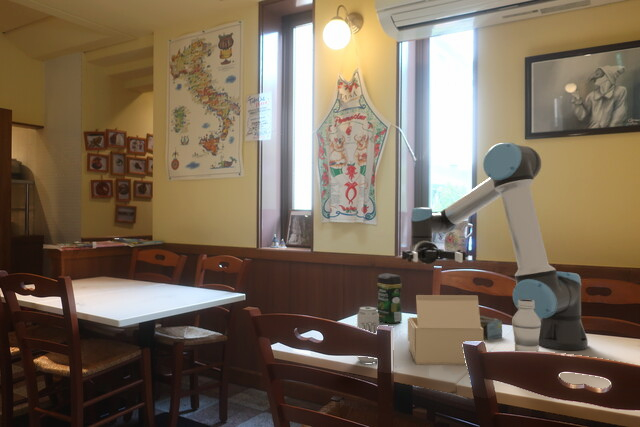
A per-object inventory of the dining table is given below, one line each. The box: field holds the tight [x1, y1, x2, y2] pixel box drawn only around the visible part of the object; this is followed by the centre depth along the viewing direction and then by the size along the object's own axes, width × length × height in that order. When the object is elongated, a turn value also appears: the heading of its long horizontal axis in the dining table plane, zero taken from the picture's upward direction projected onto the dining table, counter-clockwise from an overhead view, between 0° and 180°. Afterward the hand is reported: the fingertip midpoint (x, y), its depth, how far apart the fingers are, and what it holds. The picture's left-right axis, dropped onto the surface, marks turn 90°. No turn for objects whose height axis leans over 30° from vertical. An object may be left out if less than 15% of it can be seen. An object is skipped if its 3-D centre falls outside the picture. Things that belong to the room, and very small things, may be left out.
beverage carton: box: [480, 315, 503, 341], centre depth 168 cm, size 8×19×7 cm, turn 32°
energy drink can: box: [356, 306, 380, 364], centre depth 134 cm, size 6×6×15 cm
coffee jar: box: [376, 272, 403, 324], centre depth 187 cm, size 10×8×19 cm
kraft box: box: [407, 317, 484, 366], centre depth 138 cm, size 19×14×10 cm
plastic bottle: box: [511, 299, 541, 353], centre depth 118 cm, size 6×7×20 cm
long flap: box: [415, 294, 481, 329], centre depth 133 cm, size 17×9×1 cm
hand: (438, 257), depth 146 cm, fingers open, 13 cm apart
